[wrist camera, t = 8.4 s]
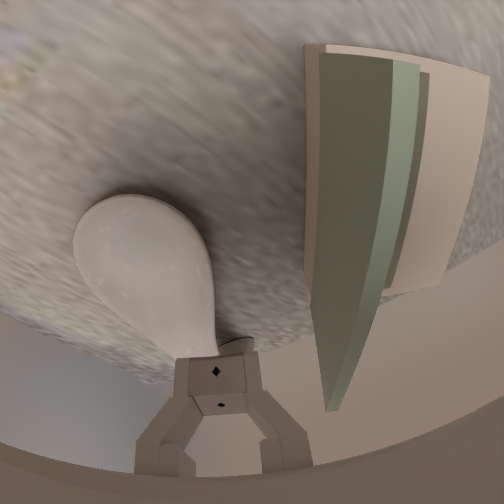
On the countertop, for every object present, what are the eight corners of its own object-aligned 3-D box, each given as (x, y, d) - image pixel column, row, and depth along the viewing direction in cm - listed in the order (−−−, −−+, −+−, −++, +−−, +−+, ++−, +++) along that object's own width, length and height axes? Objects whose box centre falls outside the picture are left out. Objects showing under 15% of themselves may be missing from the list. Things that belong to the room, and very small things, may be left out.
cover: (420, 64, 6) (393, 59, 6) (337, 410, 17) (325, 412, 17) (333, 53, 13) (318, 52, 13) (319, 305, 25) (310, 306, 25)
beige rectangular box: (450, 65, 17) (490, 76, 13) (417, 254, 30) (438, 286, 26) (303, 45, 17) (325, 44, 13) (303, 269, 29) (314, 307, 25)
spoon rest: (63, 219, 24) (29, 270, 18) (162, 150, 21) (139, 192, 16) (199, 355, 37) (198, 404, 32) (283, 326, 35) (293, 379, 29)
